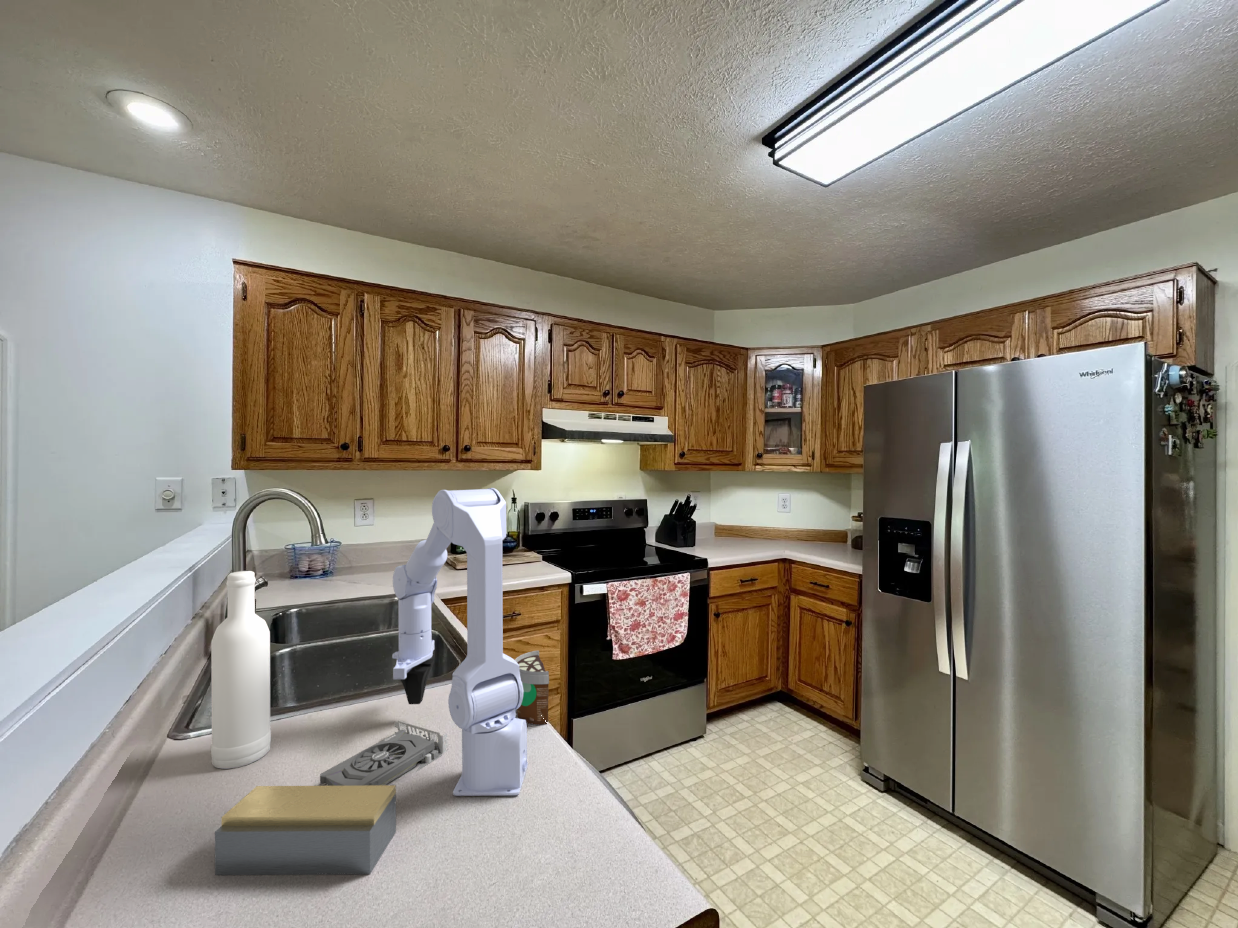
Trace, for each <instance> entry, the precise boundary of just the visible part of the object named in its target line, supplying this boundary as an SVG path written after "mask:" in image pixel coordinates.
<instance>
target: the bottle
mask: <svg viewBox="0 0 1238 928" xmlns="http://www.w3.org/2000/svg"><path fill="white" fill-rule="evenodd" d="M226 577H227V578H226V579H227V580H226V583H225V585H226V588H227V589H226V593H227V617H226V618H225V619H224V620H223V621H222V622H221V623H219V624H218V626H217V627H216V629H215V631H214V634H213V637H212V638H211V642H210V643H211V645H210V646H211V648H210V649H211V651H210V652H211V653H210V654H211V660H210V661H211V665H210V666H211V667H210V668H211V671H210V672H211V678H210V679H211V744H210V755H211V756H210V757H211V764H212V766H213V767H215V768H217V769H221V770H222V769H223V770H224V769H225V770H229V769H235V768H240V767H244V766H247V765H250V764H252V763H255V762H256V761H259V760H261V758H263V757H265V756H266V755H267V754H268V752H270V750H271V739H272V729H271V631H270V629H269V626H268V623H267V622H266V620H265V619H264V618H262V617H261V616H259V615H258V614H257V613H256V608H255V607H256V606H255V605H256V604H255V603H256V602H255V601H256V599H255V597H256V596H255V592H256V591H255V590H256V588H255V587H256V585H255V584H256V581H257V579H256V577H255V572H254V571H252V570H239V571H235V572H230V573H229V574H228V575H227V576H226Z"/></svg>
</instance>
